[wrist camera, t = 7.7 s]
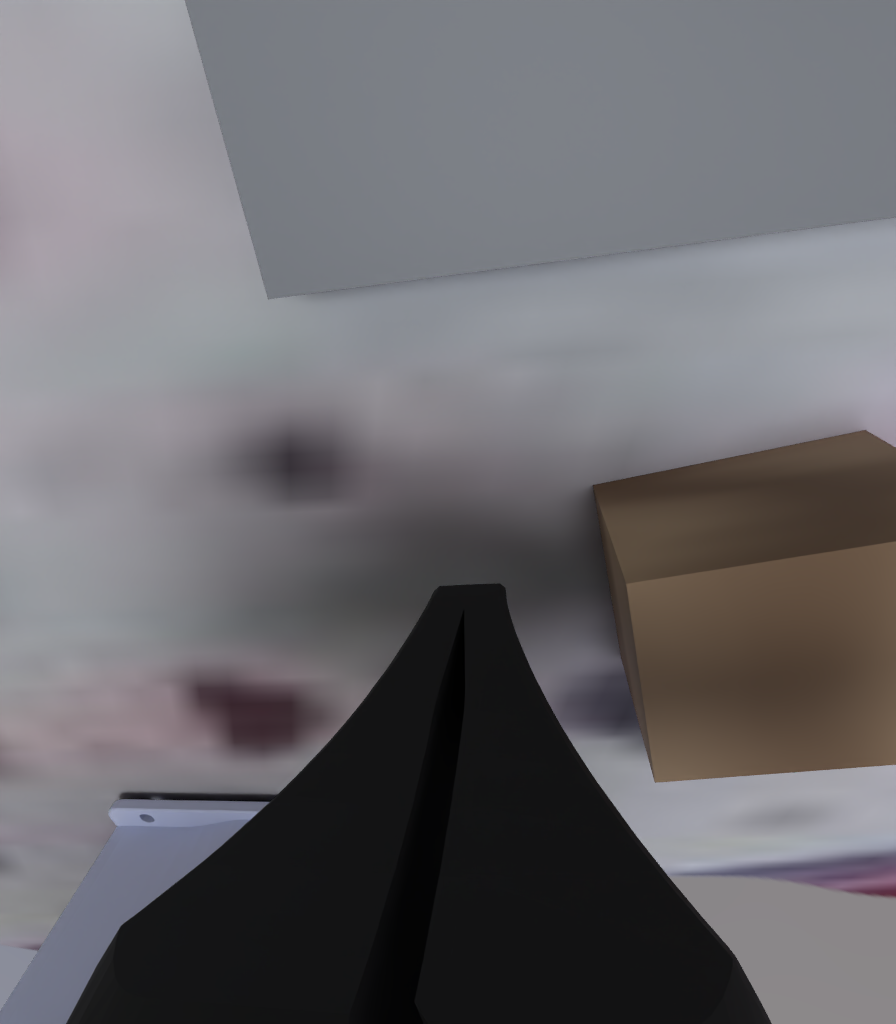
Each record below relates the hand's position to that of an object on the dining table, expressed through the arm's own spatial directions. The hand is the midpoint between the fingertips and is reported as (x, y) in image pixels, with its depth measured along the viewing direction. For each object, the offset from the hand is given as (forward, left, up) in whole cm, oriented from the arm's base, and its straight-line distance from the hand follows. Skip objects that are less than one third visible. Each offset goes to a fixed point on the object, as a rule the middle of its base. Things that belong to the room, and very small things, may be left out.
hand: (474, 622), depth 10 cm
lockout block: (+5, 0, -2) cm, 6 cm away
